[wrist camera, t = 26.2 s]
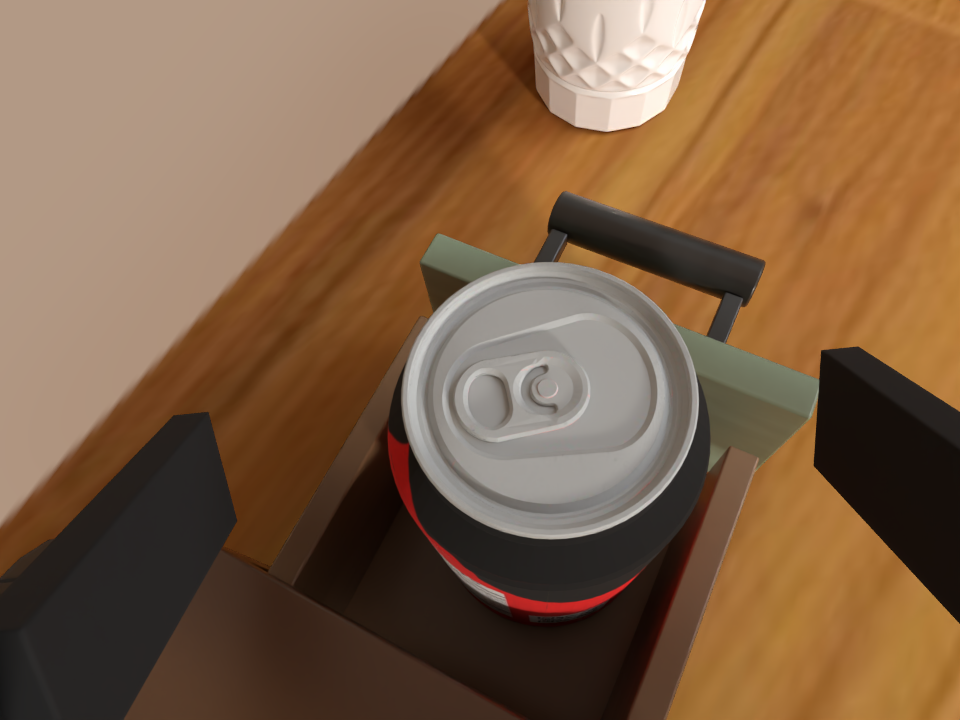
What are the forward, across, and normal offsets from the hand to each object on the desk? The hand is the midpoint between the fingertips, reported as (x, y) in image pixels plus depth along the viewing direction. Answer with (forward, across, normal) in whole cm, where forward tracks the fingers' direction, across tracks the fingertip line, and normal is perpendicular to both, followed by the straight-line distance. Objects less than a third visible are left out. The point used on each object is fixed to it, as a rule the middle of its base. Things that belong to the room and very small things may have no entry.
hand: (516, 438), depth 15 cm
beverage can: (+6, -1, +6) cm, 9 cm away
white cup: (+23, -6, -7) cm, 25 cm away
